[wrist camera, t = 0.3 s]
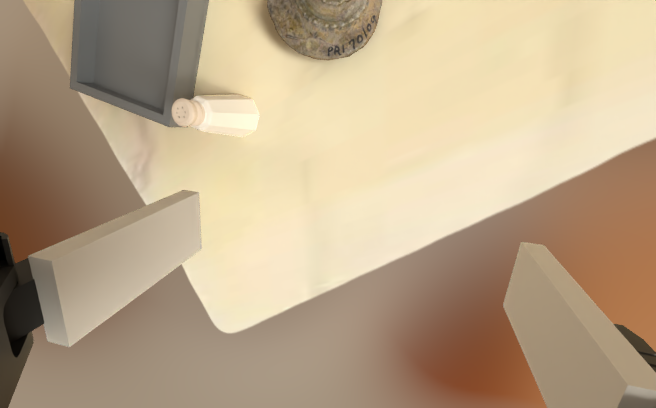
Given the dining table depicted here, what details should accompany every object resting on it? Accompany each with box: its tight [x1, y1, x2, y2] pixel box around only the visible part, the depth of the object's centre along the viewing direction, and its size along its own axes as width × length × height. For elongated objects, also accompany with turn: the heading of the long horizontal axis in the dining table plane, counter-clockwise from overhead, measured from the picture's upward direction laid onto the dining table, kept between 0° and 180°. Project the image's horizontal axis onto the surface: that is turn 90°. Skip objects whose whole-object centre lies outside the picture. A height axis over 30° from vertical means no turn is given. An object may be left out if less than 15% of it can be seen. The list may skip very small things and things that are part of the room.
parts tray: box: [70, 0, 209, 127], centre depth 46 cm, size 18×18×4 cm
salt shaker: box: [171, 94, 260, 137], centre depth 40 cm, size 5×5×11 cm
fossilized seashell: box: [268, 0, 382, 60], centre depth 36 cm, size 11×11×7 cm
